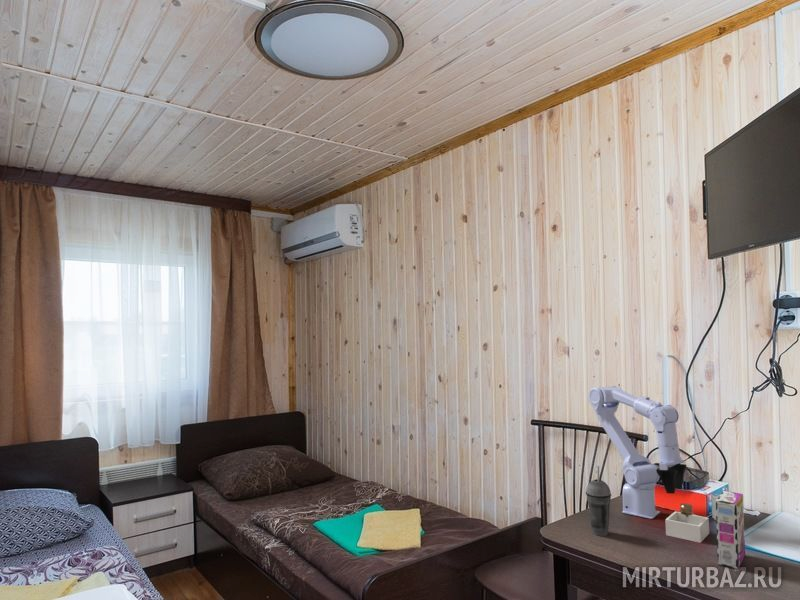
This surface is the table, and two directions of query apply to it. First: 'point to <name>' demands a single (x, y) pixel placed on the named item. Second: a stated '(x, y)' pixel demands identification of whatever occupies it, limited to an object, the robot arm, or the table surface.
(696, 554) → the table surface
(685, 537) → the white framed panel box
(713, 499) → the skincare box
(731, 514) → the pink printed carton
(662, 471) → the robot arm
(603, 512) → the beverage cup
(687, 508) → the plunger
